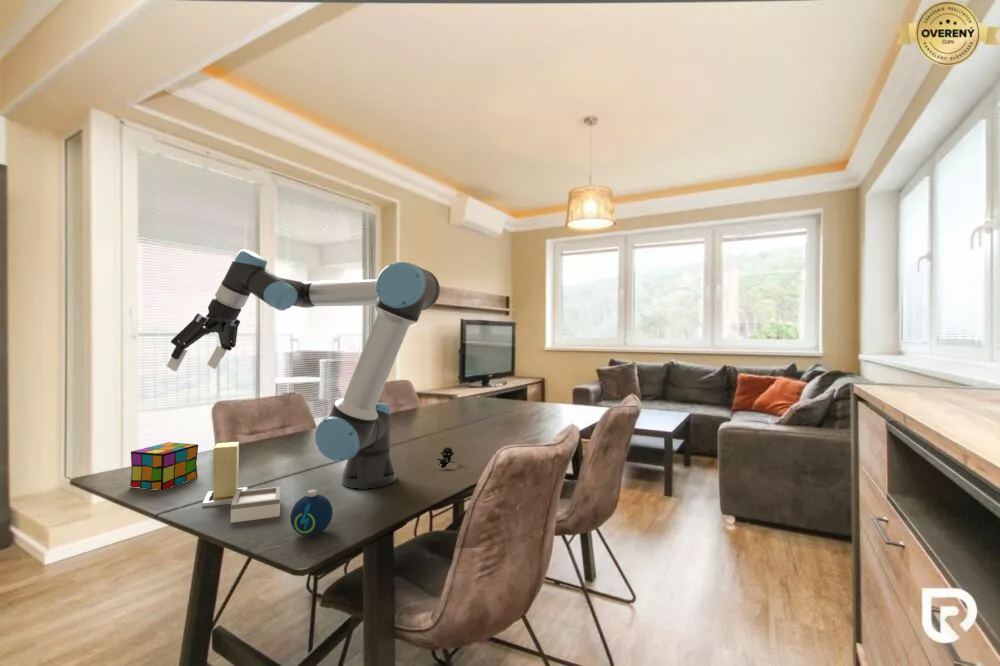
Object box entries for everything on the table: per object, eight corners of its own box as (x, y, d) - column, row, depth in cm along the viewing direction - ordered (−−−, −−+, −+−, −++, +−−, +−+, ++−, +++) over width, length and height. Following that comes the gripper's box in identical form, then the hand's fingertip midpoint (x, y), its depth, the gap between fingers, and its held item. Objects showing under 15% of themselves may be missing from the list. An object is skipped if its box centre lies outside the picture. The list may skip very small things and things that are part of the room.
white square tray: (280, 501, 116) (280, 486, 116) (279, 516, 107) (279, 499, 107) (235, 507, 112) (235, 491, 112) (230, 522, 103) (230, 505, 103)
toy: (161, 491, 123) (162, 454, 123) (130, 488, 125) (130, 451, 125) (197, 478, 134) (198, 444, 134) (167, 475, 136) (168, 442, 136)
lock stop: (238, 494, 121) (239, 441, 121) (235, 500, 117) (236, 446, 117) (216, 496, 119) (217, 443, 119) (213, 503, 115) (214, 447, 115)
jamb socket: (247, 490, 124) (247, 487, 124) (244, 502, 116) (244, 498, 116) (208, 495, 120) (208, 491, 120) (202, 507, 112) (202, 503, 112)
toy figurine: (427, 470, 146) (428, 452, 146) (433, 462, 156) (433, 445, 156) (458, 471, 146) (459, 453, 146) (462, 463, 156) (462, 446, 156)
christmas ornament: (280, 538, 96) (281, 491, 96) (310, 523, 104) (311, 479, 104) (312, 546, 93) (313, 496, 93) (340, 529, 101) (341, 484, 101)
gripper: (249, 300, 140) (216, 359, 141) (180, 290, 116) (141, 361, 117) (268, 312, 139) (235, 372, 140) (202, 304, 114) (162, 377, 116)
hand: (192, 367), depth 128 cm, fingers open, 13 cm apart
